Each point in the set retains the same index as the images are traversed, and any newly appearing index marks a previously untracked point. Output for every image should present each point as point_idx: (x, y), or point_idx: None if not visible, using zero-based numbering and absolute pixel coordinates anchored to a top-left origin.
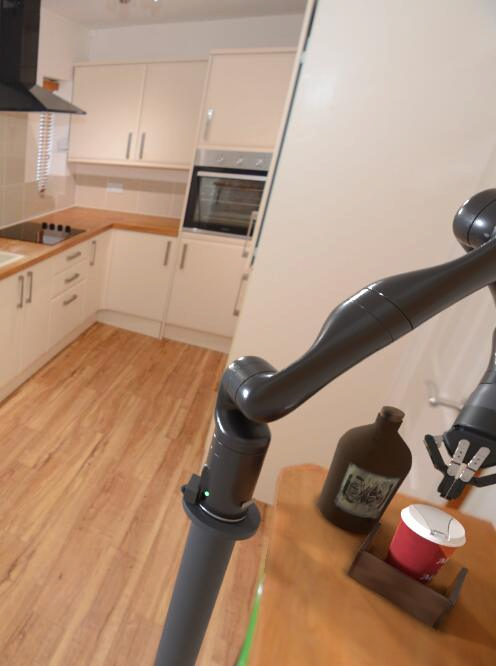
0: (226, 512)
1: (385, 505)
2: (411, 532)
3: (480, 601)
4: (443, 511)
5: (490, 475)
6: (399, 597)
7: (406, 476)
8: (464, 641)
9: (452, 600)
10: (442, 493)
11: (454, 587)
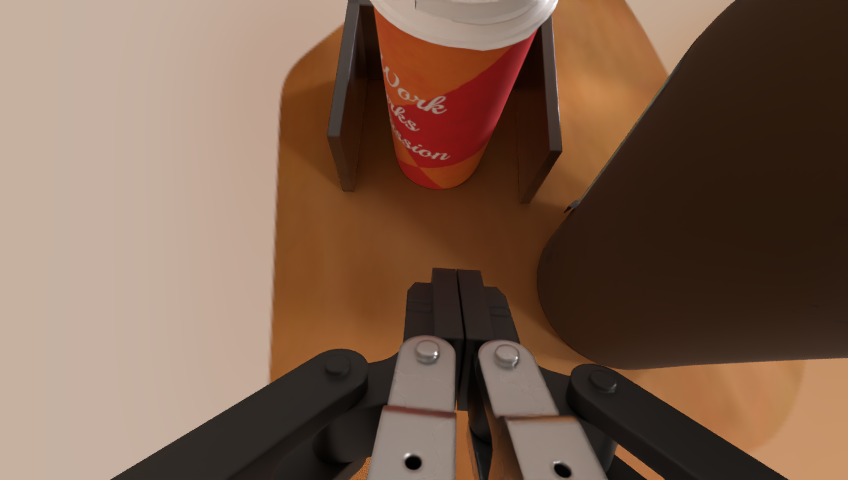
0: None
1: (583, 201)
2: None
3: (288, 217)
4: (455, 3)
5: (279, 430)
6: None
7: (657, 143)
8: (316, 81)
9: (353, 4)
10: (474, 270)
11: (352, 46)
